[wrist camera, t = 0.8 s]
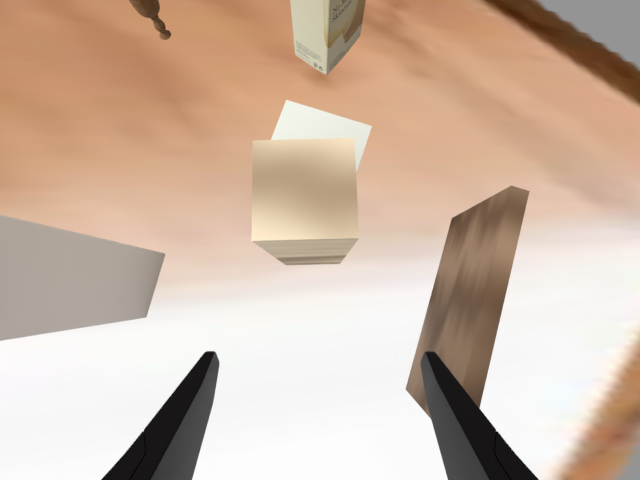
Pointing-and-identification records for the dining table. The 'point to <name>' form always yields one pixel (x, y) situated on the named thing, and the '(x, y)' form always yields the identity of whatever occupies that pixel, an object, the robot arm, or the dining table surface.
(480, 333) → the screen
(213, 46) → the dining table surface
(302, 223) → the wooden block
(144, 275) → the milk
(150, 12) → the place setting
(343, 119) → the mat
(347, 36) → the skincare box
